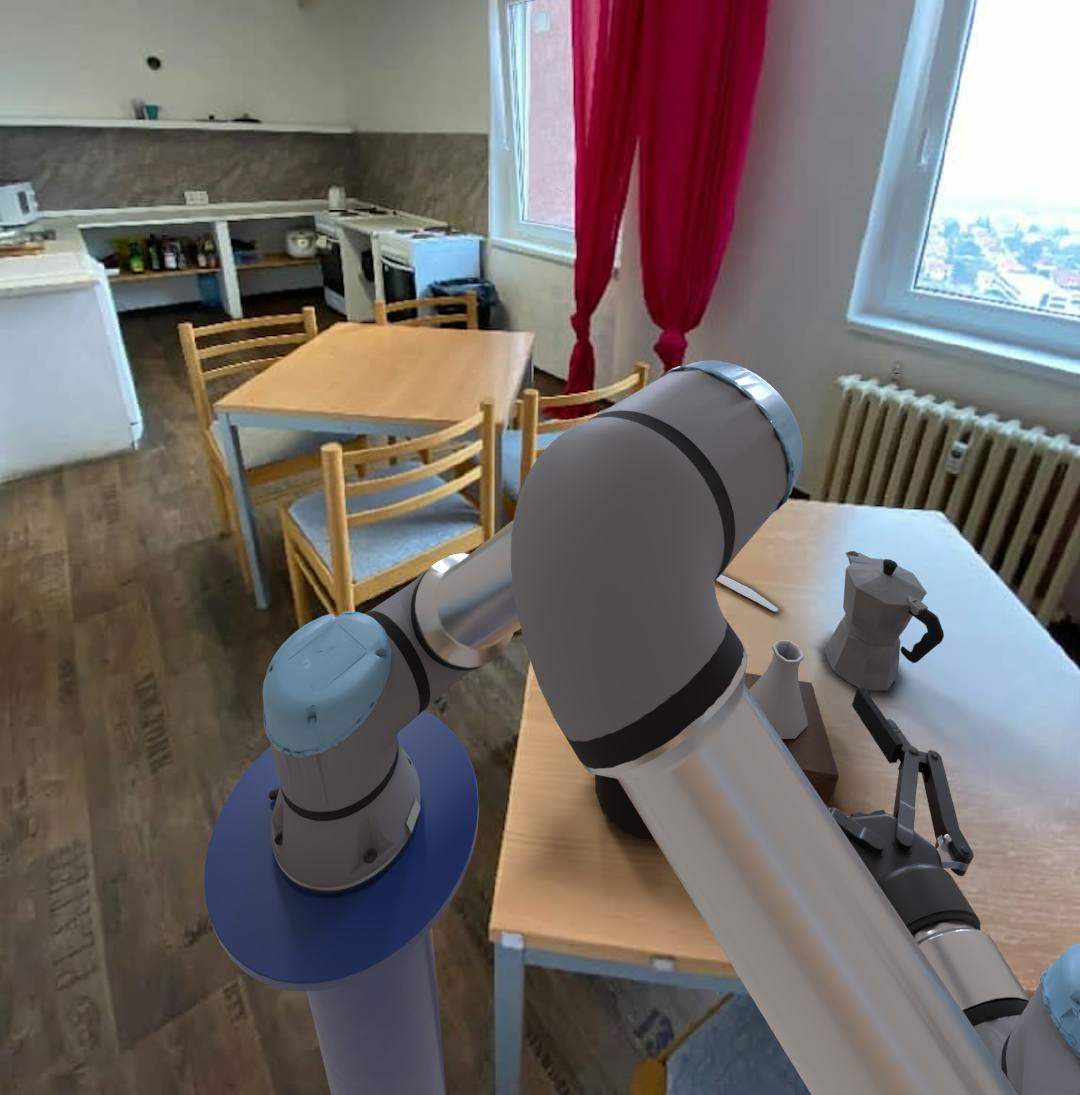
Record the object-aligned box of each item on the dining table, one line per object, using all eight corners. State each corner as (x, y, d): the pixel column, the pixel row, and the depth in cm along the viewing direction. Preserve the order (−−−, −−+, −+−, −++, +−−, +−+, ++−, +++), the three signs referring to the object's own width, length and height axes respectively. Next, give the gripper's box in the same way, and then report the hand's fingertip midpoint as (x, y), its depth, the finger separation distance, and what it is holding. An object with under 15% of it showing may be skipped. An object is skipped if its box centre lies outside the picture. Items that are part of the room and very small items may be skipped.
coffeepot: (800, 636, 89) (824, 536, 82) (851, 623, 92) (879, 525, 85) (883, 728, 76) (920, 619, 69) (940, 710, 78) (982, 602, 72)
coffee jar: (689, 759, 72) (708, 646, 65) (691, 858, 62) (714, 737, 55) (599, 741, 74) (609, 628, 67) (588, 833, 64) (598, 713, 57)
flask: (729, 696, 74) (741, 634, 70) (777, 680, 76) (791, 619, 72) (768, 750, 68) (784, 685, 64) (819, 730, 70) (837, 667, 66)
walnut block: (719, 786, 69) (725, 756, 67) (709, 695, 80) (714, 668, 78) (830, 805, 67) (839, 775, 65) (804, 710, 78) (811, 682, 76)
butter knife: (640, 527, 112) (631, 534, 110) (782, 605, 95) (774, 614, 93) (640, 530, 112) (630, 536, 110) (781, 608, 95) (773, 617, 93)
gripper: (772, 996, 46) (682, 735, 65) (1069, 955, 48) (897, 716, 68) (790, 940, 43) (690, 684, 62) (1105, 901, 45) (915, 667, 65)
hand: (798, 700), depth 65 cm, fingers open, 13 cm apart
